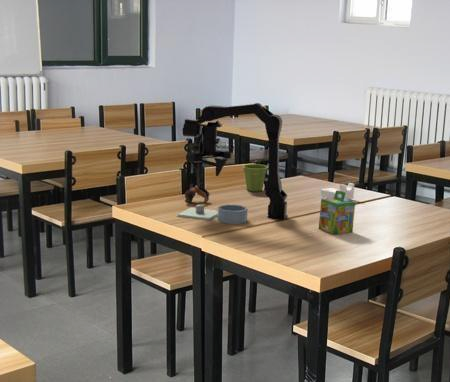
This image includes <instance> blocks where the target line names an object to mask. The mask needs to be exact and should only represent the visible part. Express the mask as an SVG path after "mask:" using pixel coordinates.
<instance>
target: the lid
mask: <svg viewBox="0 0 450 382" xmlns="http://www.w3.org/2000/svg"><path fill="white" fill-rule="evenodd" d="M177 216H179V217H178V218H184V217H188V218H187V219H192V218H196V219H195V220H200V219H204V220H203V221H208V220H211V219H212V218H214V217H216V216H217V210H216V209H215V210H213V209H207V208H206V209H205V205H204V204H196V205H195V207H189V208H187V209H186V210H183V211H181V212H179V213H178V214H177ZM216 218H217V217H216ZM214 219H215V218H214ZM212 220H213V219H212ZM212 220H211V221H212Z"/></svg>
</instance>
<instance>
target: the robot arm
mask: <svg viewBox="0 0 450 382" xmlns="http://www.w3.org/2000/svg"><path fill="white" fill-rule="evenodd" d="M243 115H244V116H245V115H255V116H256V118H258V119H259V120H260V121H261V122H262V123H263V124H264V125H265V131H266V135H267V138H268V174H267V175H268V176H267V177H265V179H264V184H263V188H264V189H263V192H265V195H266V197H267V198H269V204H268V206H267V218H268V219H269V218H270V219H278V220H285V219H286V218H287V217H288V214H287V210H288V209H287V208H288V201H286V200H287V198H288V194H287V193H286V192H285V191H284V189H283V185H282V180H281V176H280V136H281V133H282V127H283V119H282V117H281V116H280V115H279V114H274V113H273V112H272V111H270V110H269V109H268V108H265V107H264V106H263V105H262V104H261V103H259V102H256V103H249V104H240V105H230V106H223V105H208V106H205V107H203V109H202V110H201V115H200V116H199V117H198V118H197V119H189V118H185V119H184V123H183V126H182V135H183V137H190V138H191V137H192V138H199V136H200V135H201V139H200V140H199V141H198V142H199V143H198V144H197V143H196V142H191V143H189V147H188V149H189V151H190V152H186V154H185V160H186V161H188V162H189V163H191V164H192V166H193V169H195V170H194V171H195V173H196V177H197V179H201V177H202V176H201V175H202V170H203V166H204V165H203V164H204V162H203V159H210V158H211V159H212V158H213V159H214V161H215V176H216V177H219V176H220V173H221V172H222V169H223V168H224V166H225V164H226V163H227V162H228V161H229V159H232V154H231V151H230V150H226V149H217V144H218V145H219V140H217V139H218V138H217V135H218V133H217V132H218V128H221V127H222V126H223V124H222V123H221V122H220V121H219V119H222V118H225V117H236V116H243ZM215 120H216V121H215ZM206 122H207V123H206ZM204 123H205V124H204Z"/></svg>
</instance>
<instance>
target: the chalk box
mask: <svg viewBox="0 0 450 382" xmlns="http://www.w3.org/2000/svg"><path fill="white" fill-rule="evenodd" d="M338 190H339V189H338ZM338 190H337V191H336V193H335V196H334V198H321V199H320V209H319V210H320V211H319V212H320V213H319V220H318V221H319V222H318V230H321V231H323V232H326V233H330V234H332V235H341V234H347V233H353V231H354V230H353V229H354V220H355V219H354V218H355V210H356V209H355V207H356V203H355V201H353V200H351V199H348V200H347V199H344V197H345V192H342V191H338ZM338 194H341V195H342V197H341V198H340V197H338Z"/></svg>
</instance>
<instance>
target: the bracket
mask: <svg viewBox="0 0 450 382" xmlns="http://www.w3.org/2000/svg"><path fill="white" fill-rule="evenodd" d="M337 190H338V191H342V192H345V197H344V199H347V200H352V199H354V193H355V183H351V182H348V185H346V184H339V189H337V188H332V187H327V188H322V189H320V195H319V196H322V197H321V198H324V197H327V198H334V196H335V193H336V191H337ZM338 197H340V198H341V197H342V195H341V194H338ZM327 198H326V199H327Z"/></svg>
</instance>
